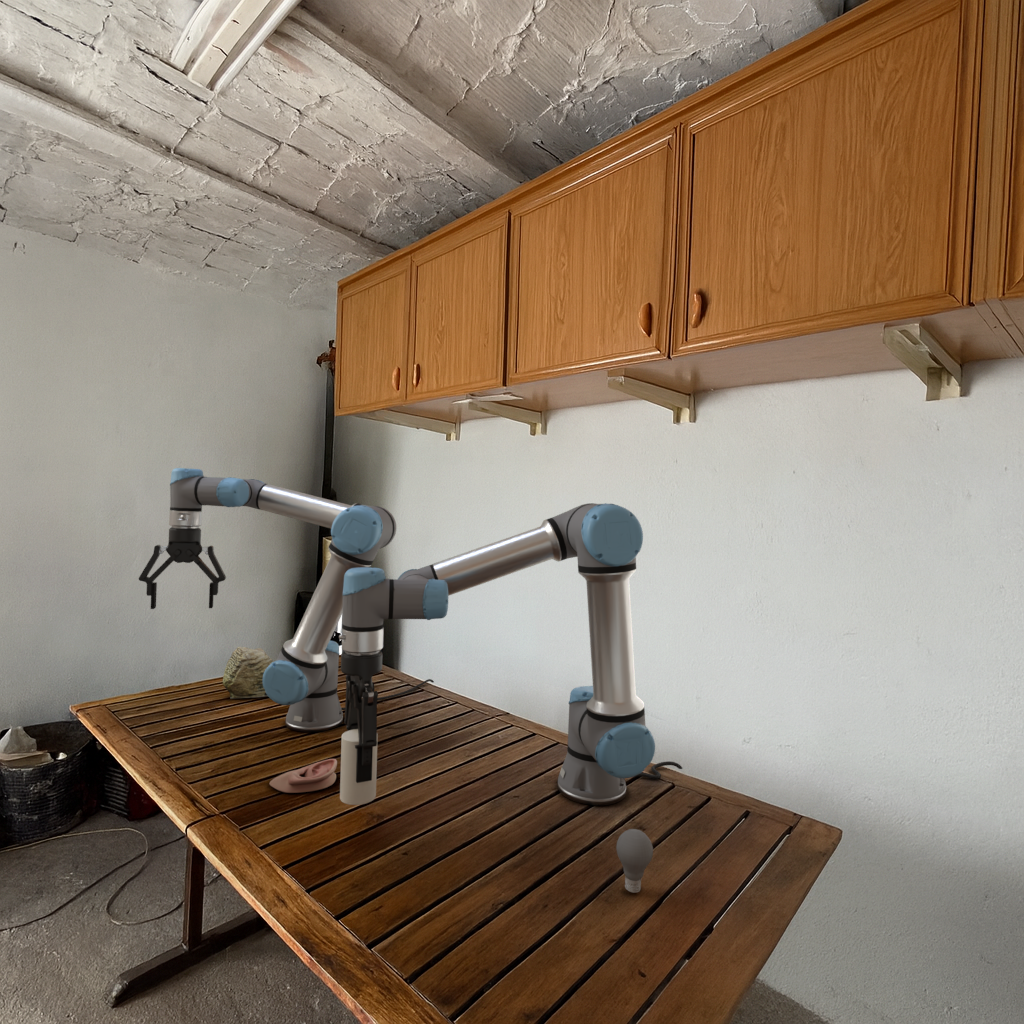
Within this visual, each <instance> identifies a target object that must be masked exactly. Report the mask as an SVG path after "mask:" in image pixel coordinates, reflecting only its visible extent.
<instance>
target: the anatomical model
mask: <svg viewBox="0 0 1024 1024" xmlns="http://www.w3.org/2000/svg"><path fill="white" fill-rule="evenodd" d="M337 766H338V760H337V759H336V758H329V759H324V760H321V761H318V762H315V763H314V762H313V763H312V764H309V765H306V766H303V767H301V768H298V769H294V770H289V771H287V772H284V773H282V774H279V775H277V776H276V777H274V778H273V779H271V780H270V781H269V786H270V787H272V788H273V789H275V790H277V791H279V792H282V793H286V794H294V793H295V794H296V793H297V794H299V793H306V792H307V793H308V792H315V791H319V790H320V791H321V790H323V789H326V788H328V787H330V786H332V785H333V784H334V783H335V782H336V780H337V773H335V771H336V769H337V768H338V767H337Z"/></svg>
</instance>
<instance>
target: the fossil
mask: <svg viewBox="0 0 1024 1024" xmlns="http://www.w3.org/2000/svg"><path fill="white" fill-rule="evenodd" d="M274 661H275V660H273V659H272V658H271V657H270V656H269V655H268V654H267V653H266V652H265V650H264V649H263V648H260V647H258V648H251V647H247V646H246V647H245V646H238V647H237V648H236V649H235V650H233V651H232V653H231V656H230V657H229V659H228V660H227V663H226V666H225V668H224V671H223V675H222V676H223V677H222V685H223V687H224V688H225V690H226V691H228V693H229V698H230V699H250V698H264V697H268V695H267V694H266V691H265V688H264V687H263V674H264V672H265V670H266V668H267V667H268V666H269V665H270V664H271V663H272V662H274Z"/></svg>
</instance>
